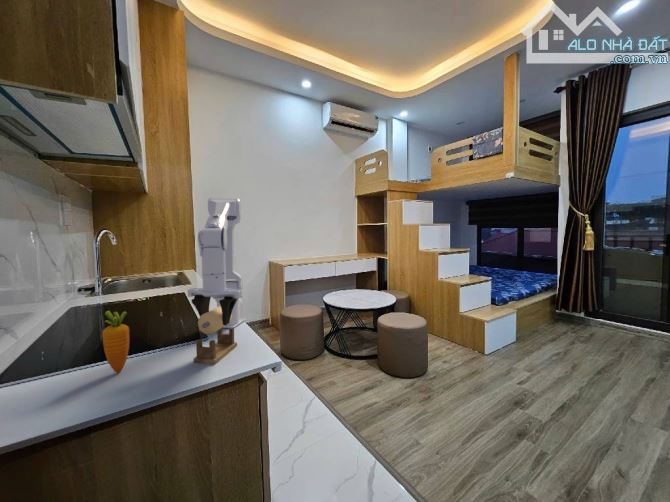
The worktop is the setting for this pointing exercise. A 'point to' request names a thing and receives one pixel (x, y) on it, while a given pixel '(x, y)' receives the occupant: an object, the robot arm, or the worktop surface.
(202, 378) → the worktop surface
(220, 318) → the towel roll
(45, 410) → the worktop surface
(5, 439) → the worktop surface
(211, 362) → the roll holder
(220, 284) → the robot arm
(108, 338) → the carrot
